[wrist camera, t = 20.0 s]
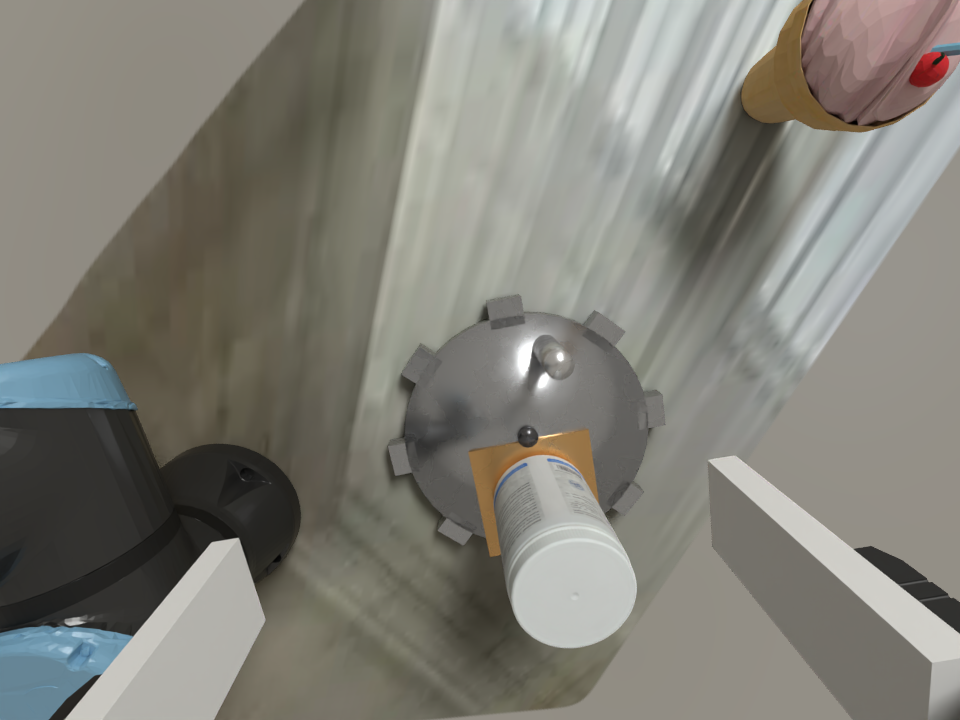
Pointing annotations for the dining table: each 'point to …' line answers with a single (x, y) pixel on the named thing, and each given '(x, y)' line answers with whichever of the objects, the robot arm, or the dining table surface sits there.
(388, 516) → the dining table surface
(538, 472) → the supplement tub
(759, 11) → the dining table surface
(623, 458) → the sprocket
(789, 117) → the ice cream cone
